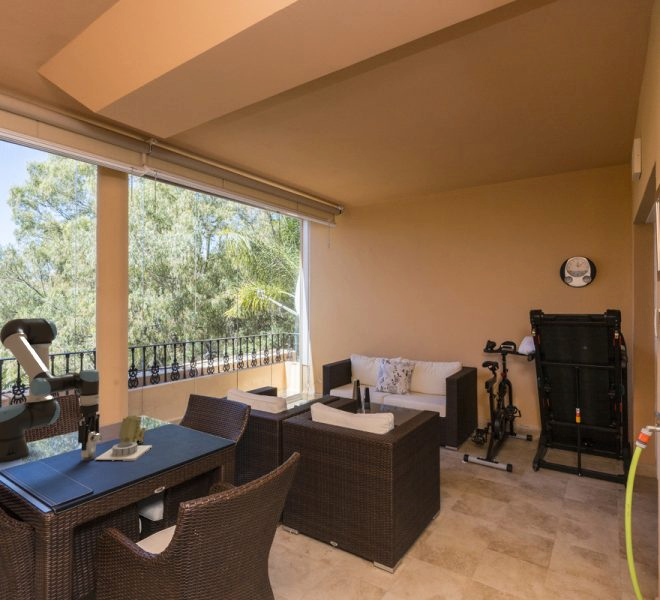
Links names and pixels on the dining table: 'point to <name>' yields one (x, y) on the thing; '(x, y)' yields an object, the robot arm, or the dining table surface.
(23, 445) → the robot arm
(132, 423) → the mechanical component
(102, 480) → the dining table surface
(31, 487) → the dining table surface
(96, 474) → the dining table surface
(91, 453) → the elbow
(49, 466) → the dining table surface
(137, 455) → the plate
